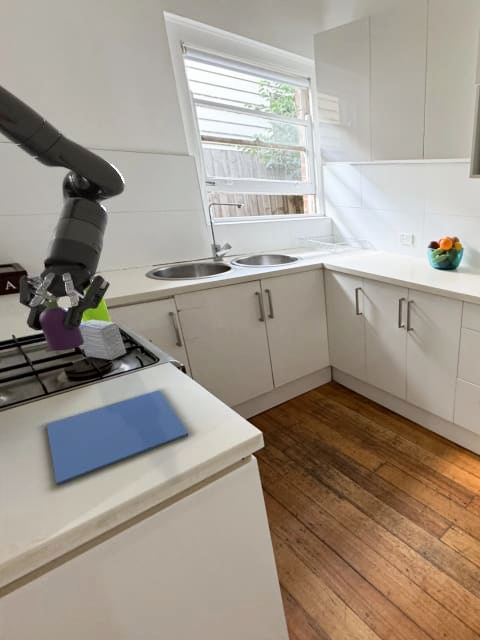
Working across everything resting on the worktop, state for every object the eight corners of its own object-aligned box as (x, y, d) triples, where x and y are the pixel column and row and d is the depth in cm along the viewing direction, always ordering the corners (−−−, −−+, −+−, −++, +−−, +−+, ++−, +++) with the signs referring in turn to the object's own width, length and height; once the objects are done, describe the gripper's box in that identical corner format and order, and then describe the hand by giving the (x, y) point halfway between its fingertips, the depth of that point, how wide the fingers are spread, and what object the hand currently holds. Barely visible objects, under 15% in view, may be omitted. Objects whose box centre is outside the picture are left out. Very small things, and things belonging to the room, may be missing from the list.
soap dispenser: (82, 343, 103) (56, 270, 95) (96, 333, 109) (73, 264, 101) (106, 342, 104) (83, 269, 96) (119, 332, 110) (98, 263, 102)
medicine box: (127, 353, 98) (117, 322, 94) (111, 361, 94) (100, 328, 90) (102, 349, 100) (92, 318, 96) (85, 357, 96) (74, 324, 92)
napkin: (47, 425, 70) (46, 423, 70) (159, 391, 82) (158, 390, 82) (57, 485, 57) (56, 483, 57) (188, 434, 69) (188, 432, 69)
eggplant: (42, 351, 69) (24, 305, 65) (61, 340, 73) (45, 296, 70) (73, 350, 69) (56, 305, 66) (90, 339, 74) (76, 296, 70)
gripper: (17, 236, 70) (-13, 320, 63) (104, 237, 72) (82, 319, 65) (49, 259, 77) (24, 337, 70) (127, 259, 78) (109, 335, 72)
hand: (52, 328), depth 68 cm, fingers closed on eggplant, 5 cm apart
